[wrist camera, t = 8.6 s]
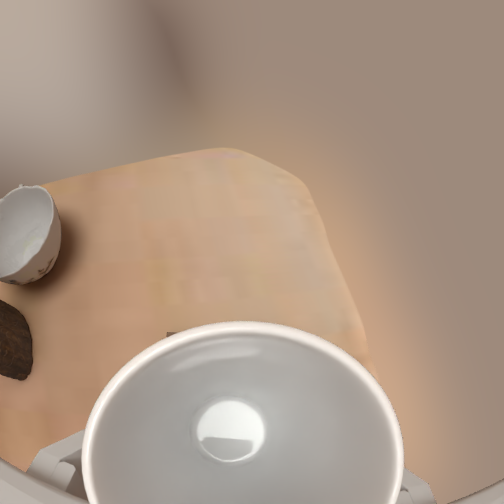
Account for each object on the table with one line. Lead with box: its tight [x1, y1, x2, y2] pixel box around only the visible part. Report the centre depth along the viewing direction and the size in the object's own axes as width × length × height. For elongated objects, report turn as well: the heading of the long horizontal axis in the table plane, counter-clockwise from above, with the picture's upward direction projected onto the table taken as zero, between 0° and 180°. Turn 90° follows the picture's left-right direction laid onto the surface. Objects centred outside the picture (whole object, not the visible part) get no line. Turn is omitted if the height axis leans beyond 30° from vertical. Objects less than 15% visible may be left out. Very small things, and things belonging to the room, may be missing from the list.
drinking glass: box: [81, 321, 404, 504], centre depth 11 cm, size 7×7×15 cm
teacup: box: [0, 184, 61, 284], centre depth 30 cm, size 15×12×8 cm
